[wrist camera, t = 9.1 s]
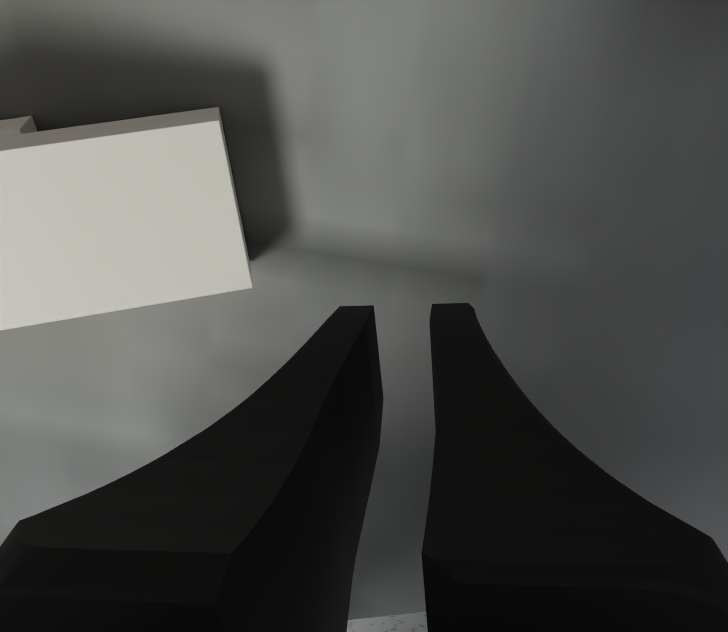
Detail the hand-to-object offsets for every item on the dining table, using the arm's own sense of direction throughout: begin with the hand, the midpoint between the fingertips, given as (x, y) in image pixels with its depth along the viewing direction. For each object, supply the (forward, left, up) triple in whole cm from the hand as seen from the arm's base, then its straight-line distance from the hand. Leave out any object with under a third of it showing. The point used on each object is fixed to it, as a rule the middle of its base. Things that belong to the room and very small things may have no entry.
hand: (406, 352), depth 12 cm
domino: (+4, +3, -7) cm, 9 cm away
